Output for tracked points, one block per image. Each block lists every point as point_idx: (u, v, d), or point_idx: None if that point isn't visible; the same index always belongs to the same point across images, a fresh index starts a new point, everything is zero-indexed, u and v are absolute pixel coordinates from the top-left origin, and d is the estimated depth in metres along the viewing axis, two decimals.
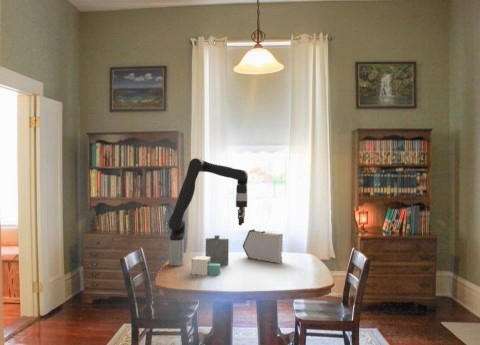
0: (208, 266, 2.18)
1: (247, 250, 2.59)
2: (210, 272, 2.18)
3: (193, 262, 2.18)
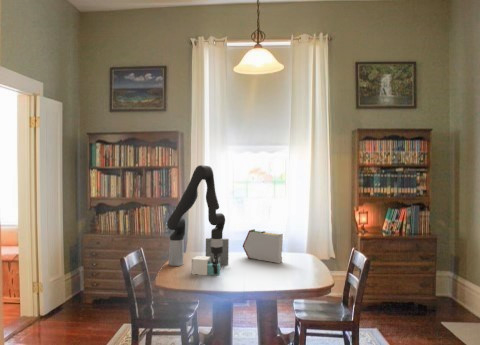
0: (208, 266, 2.18)
1: (247, 250, 2.59)
2: (210, 272, 2.18)
3: (193, 262, 2.18)
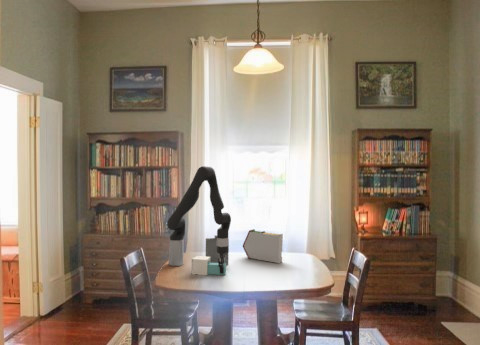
0: (214, 266, 2.17)
1: (247, 250, 2.59)
2: (216, 272, 2.17)
3: (193, 262, 2.18)
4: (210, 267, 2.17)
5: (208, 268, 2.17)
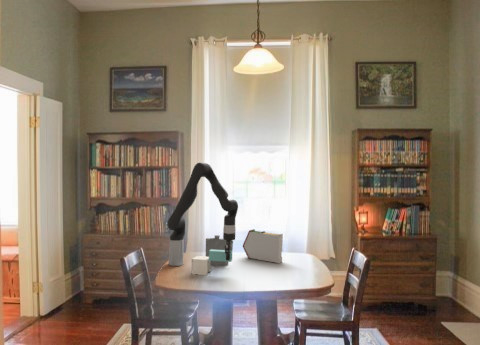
0: (220, 252, 2.17)
1: (247, 250, 2.59)
2: (222, 258, 2.16)
3: (193, 262, 2.18)
4: (216, 254, 2.17)
5: (214, 255, 2.17)
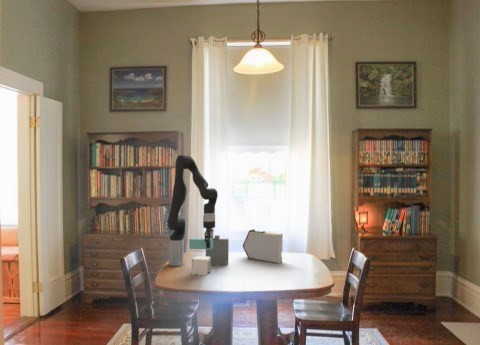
0: (200, 240, 2.19)
1: (247, 250, 2.59)
2: (202, 246, 2.19)
3: (193, 262, 2.18)
4: (197, 242, 2.19)
5: (195, 243, 2.19)
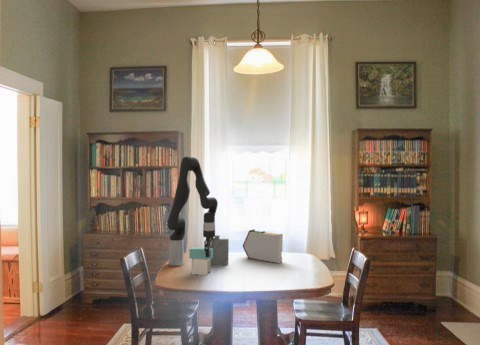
0: (200, 250, 2.19)
1: (247, 250, 2.59)
2: (202, 256, 2.19)
3: (193, 262, 2.18)
4: (197, 251, 2.19)
5: (195, 252, 2.19)
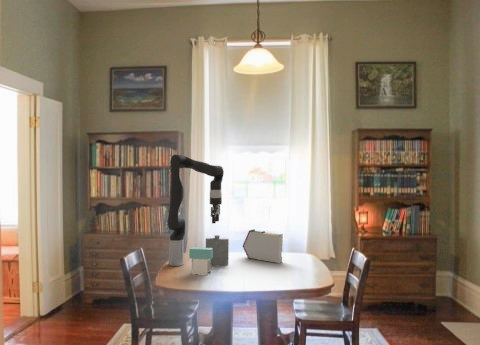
0: (200, 250, 2.19)
1: (247, 250, 2.59)
2: (202, 256, 2.19)
3: (193, 262, 2.18)
4: (197, 251, 2.19)
5: (195, 252, 2.19)
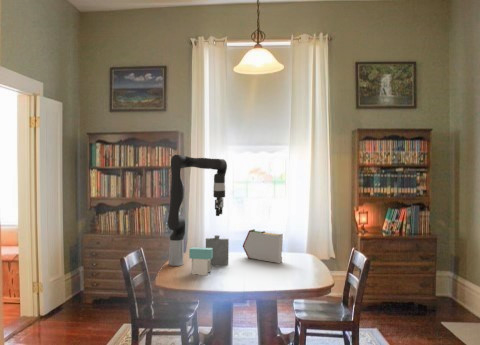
0: (200, 250, 2.19)
1: (247, 250, 2.59)
2: (202, 256, 2.19)
3: (193, 262, 2.18)
4: (197, 251, 2.19)
5: (195, 252, 2.19)
